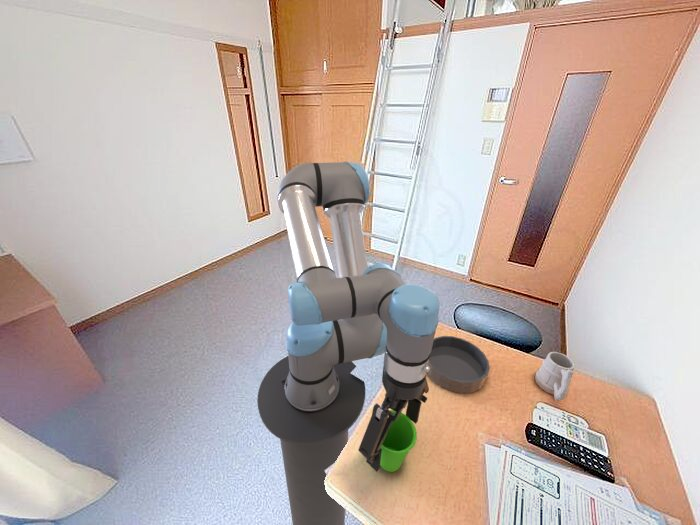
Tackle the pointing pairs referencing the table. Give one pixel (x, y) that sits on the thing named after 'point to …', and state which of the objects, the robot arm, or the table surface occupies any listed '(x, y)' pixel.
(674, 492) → the table surface
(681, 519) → the table surface
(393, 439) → the cup
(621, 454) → the table surface
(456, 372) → the pan
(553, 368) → the mug
